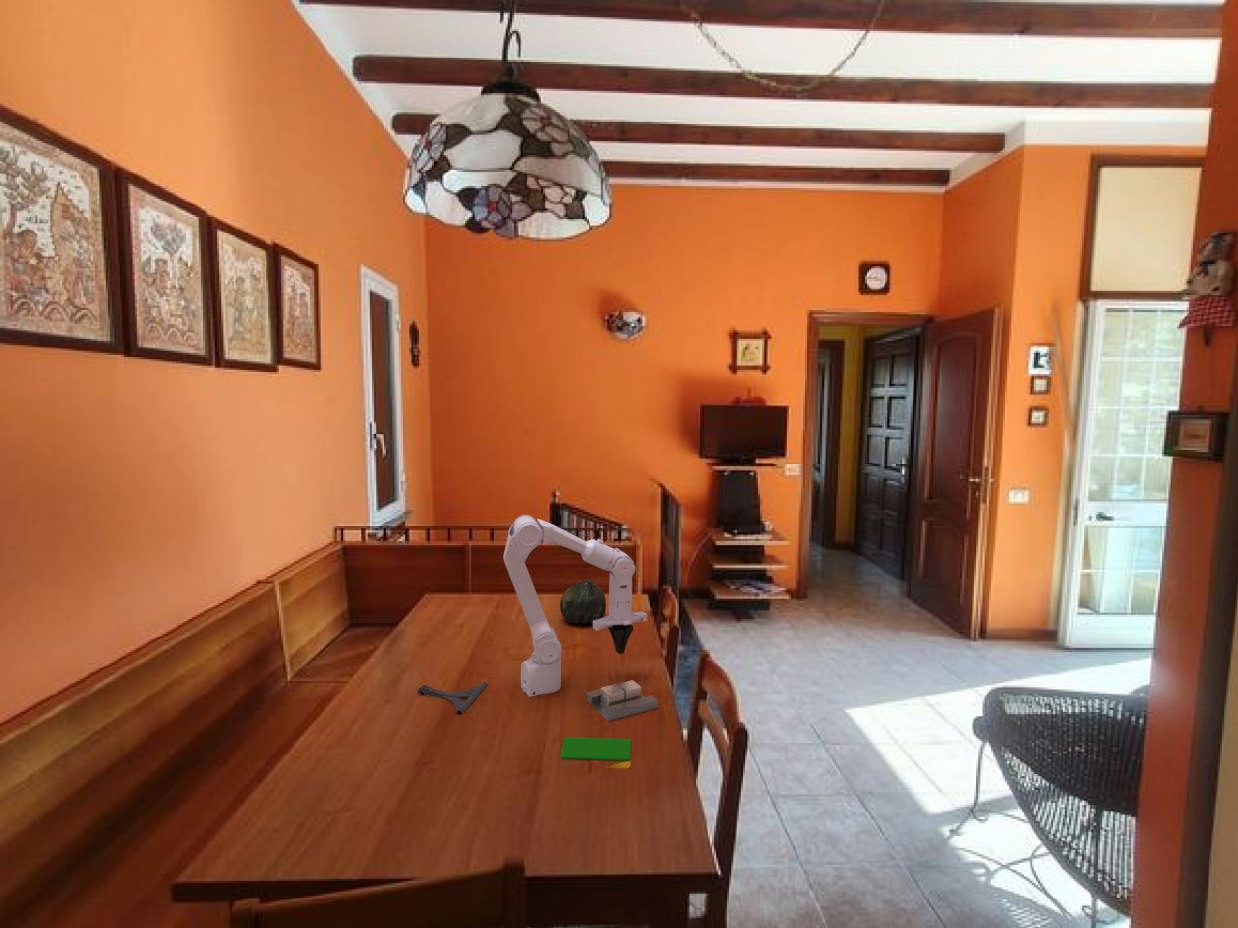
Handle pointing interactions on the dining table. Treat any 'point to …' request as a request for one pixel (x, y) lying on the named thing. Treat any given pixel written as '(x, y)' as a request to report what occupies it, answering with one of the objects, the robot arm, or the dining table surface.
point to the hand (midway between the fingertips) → (619, 652)
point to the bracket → (456, 696)
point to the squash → (583, 603)
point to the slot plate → (621, 705)
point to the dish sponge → (598, 750)
